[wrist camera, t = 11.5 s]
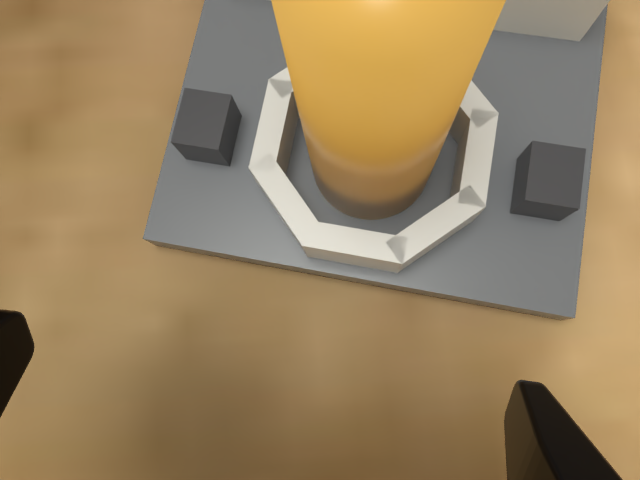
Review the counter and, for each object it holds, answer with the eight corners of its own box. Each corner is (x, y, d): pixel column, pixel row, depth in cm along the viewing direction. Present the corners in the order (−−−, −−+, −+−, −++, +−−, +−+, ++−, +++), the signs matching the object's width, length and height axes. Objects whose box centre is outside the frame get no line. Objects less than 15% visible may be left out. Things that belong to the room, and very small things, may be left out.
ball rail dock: (560, 319, 22) (666, 305, 15) (155, 245, 24) (63, 198, 17) (594, 5, 25) (699, -145, 17) (228, -41, 27) (178, -195, 19)
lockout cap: (436, 214, 22) (537, 50, 10) (316, 224, 22) (270, 77, 10) (423, 103, 23) (499, -171, 11) (309, 114, 23) (257, -142, 11)
